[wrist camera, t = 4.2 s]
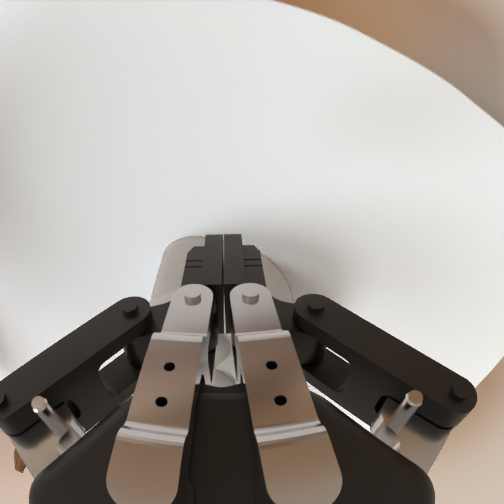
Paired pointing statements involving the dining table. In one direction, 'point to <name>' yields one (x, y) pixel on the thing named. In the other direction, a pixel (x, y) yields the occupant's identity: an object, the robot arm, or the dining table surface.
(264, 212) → the dining table surface
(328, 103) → the dining table surface
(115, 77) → the dining table surface
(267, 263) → the paw print stamp
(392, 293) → the dining table surface
